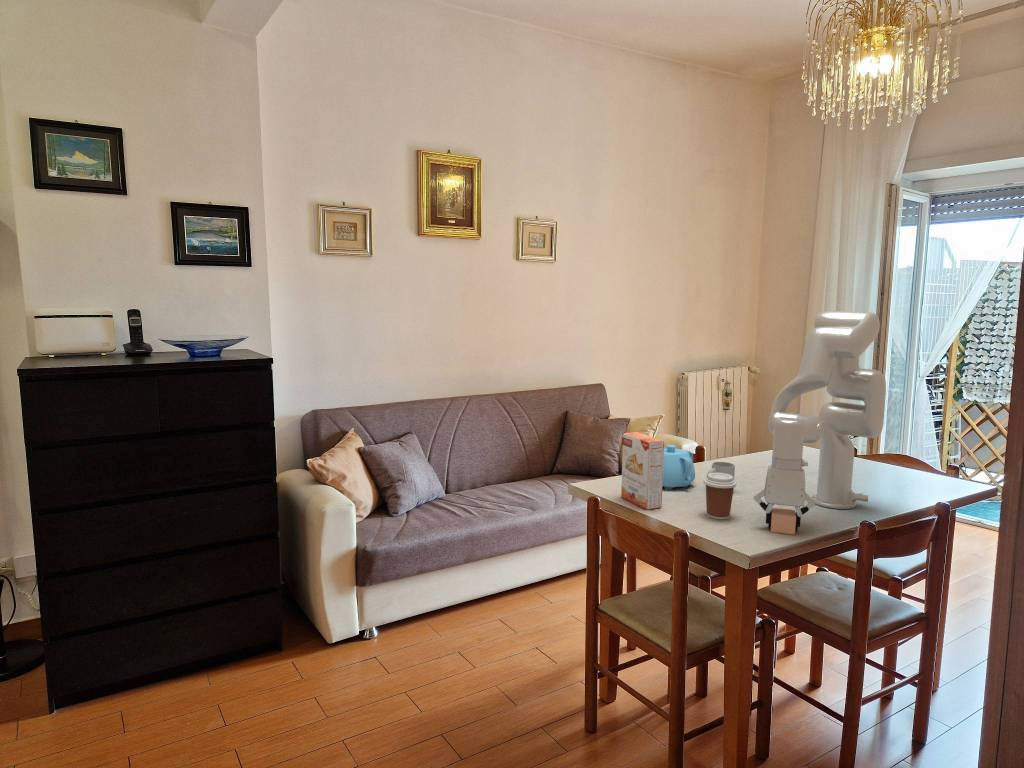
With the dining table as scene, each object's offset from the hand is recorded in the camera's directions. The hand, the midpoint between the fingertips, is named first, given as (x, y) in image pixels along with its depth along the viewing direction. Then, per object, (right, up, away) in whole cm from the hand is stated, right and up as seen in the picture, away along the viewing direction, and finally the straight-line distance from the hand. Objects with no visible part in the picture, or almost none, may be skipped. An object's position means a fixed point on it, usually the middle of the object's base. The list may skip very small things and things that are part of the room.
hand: (782, 527), depth 181 cm
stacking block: (0, -1, 0) cm, 1 cm away
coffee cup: (-14, +1, +11) cm, 18 cm away
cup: (-6, +4, +36) cm, 37 cm away
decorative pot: (-21, +5, +43) cm, 48 cm away
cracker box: (-34, +2, +23) cm, 41 cm away
